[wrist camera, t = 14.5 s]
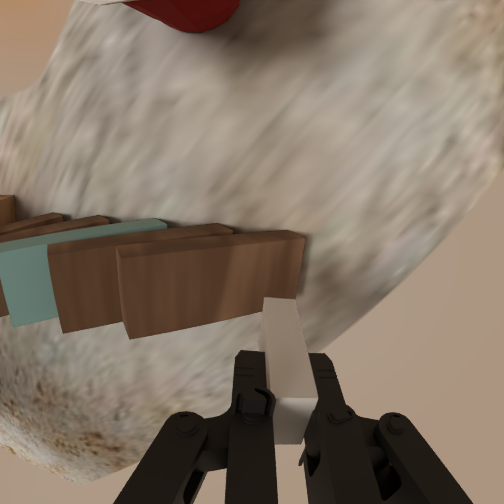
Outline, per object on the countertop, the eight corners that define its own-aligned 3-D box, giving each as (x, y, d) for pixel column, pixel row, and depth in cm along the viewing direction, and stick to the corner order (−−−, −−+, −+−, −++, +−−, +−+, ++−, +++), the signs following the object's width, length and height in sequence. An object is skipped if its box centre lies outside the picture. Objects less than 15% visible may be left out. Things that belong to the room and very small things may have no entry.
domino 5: (278, 291, 24) (123, 321, 17) (287, 229, 22) (115, 245, 16) (294, 302, 22) (129, 339, 16) (305, 238, 20) (121, 258, 14)
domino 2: (102, 273, 23) (-25, 311, 14) (98, 214, 22) (-42, 246, 12) (113, 281, 22) (-24, 324, 13) (109, 219, 20) (-43, 255, 11)
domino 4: (214, 285, 24) (60, 316, 16) (217, 223, 22) (47, 244, 15) (228, 296, 22) (63, 333, 15) (233, 230, 20) (47, 255, 13)
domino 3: (167, 224, 20) (-5, 253, 12) (167, 289, 22) (13, 327, 14) (155, 218, 22) (-3, 243, 14) (155, 279, 23) (12, 312, 15)
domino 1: (58, 266, 23) (-53, 311, 13) (52, 212, 21) (-70, 249, 11) (68, 273, 22) (-49, 322, 12) (62, 215, 21) (-69, 256, 10)
